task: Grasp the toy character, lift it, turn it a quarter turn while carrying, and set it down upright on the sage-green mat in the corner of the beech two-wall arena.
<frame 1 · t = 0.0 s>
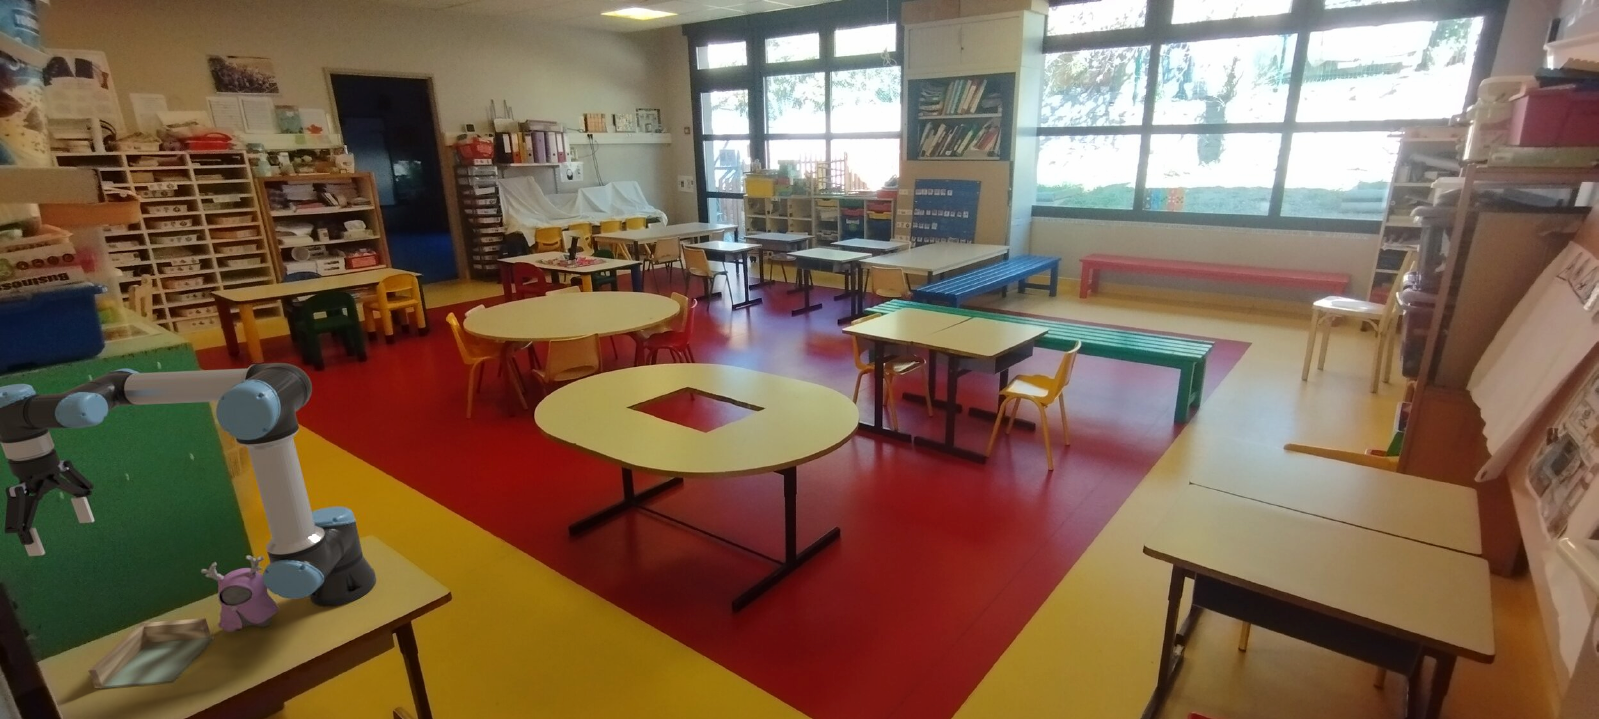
hand: (63, 537, 165), 28 cm above the table, fingers open, 13 cm apart
arena: (161, 662, 167), on the table
toy character: (252, 629, 178), on the table
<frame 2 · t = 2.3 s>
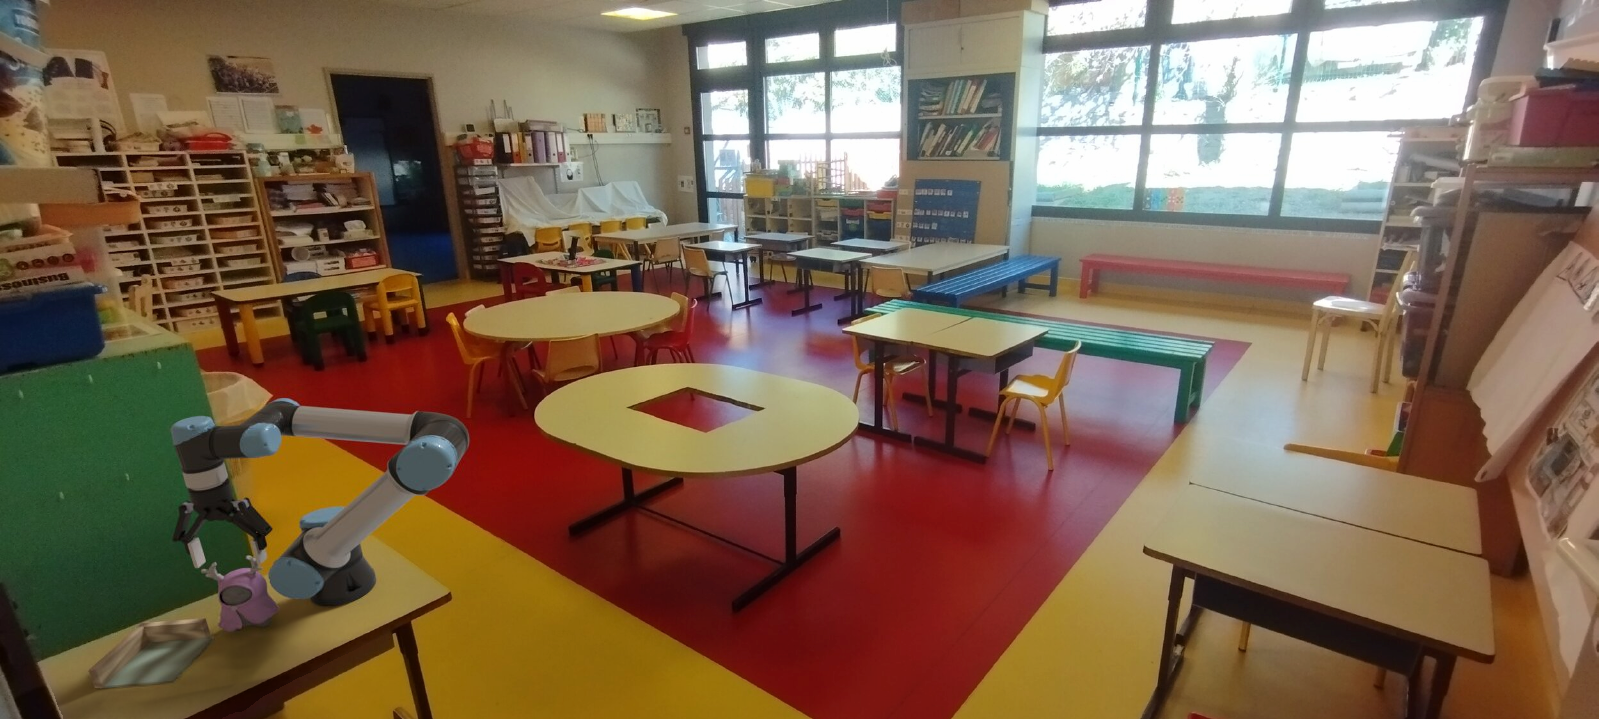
hand: (231, 563, 171), 19 cm above the table, fingers open, 13 cm apart
nothing on the table moved.
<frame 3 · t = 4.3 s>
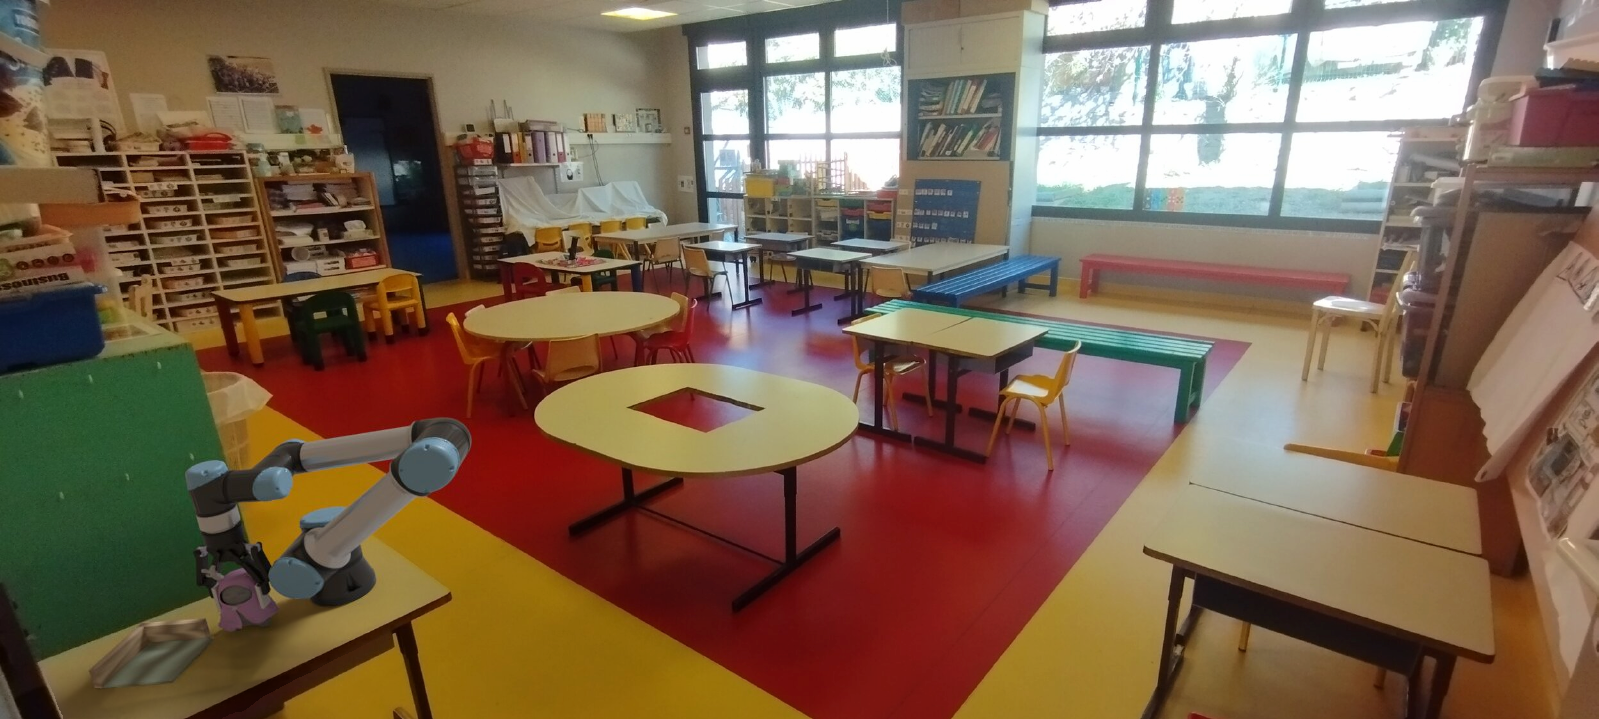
hand: (244, 606, 175), 7 cm above the table, fingers closed on toy character, 9 cm apart
toy character: (252, 629, 178), on the table, touching gripper
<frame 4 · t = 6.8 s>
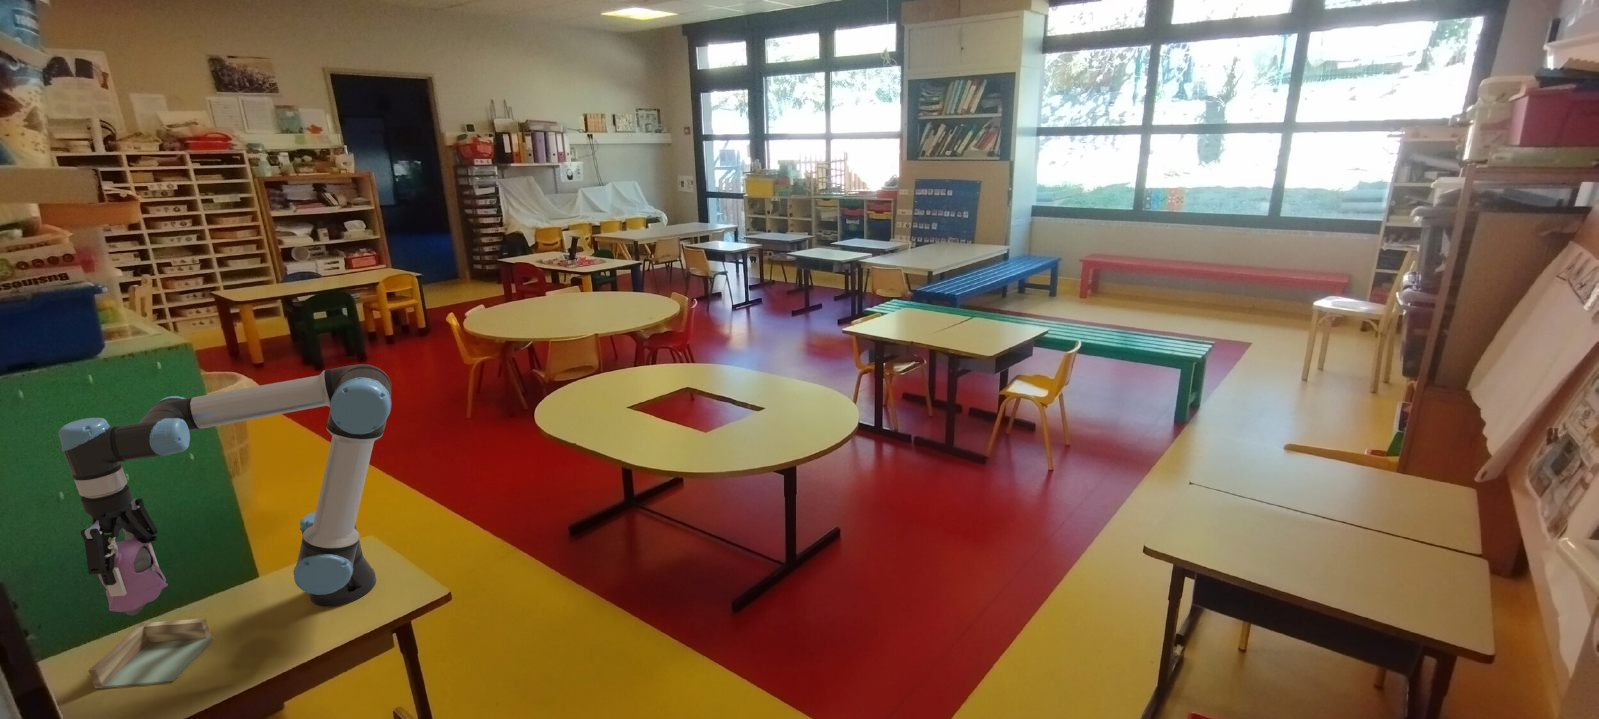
hand: (135, 581, 159), 22 cm above the table, fingers closed on toy character, 9 cm apart
toy character: (145, 606, 162), point 16 cm above the table, touching gripper
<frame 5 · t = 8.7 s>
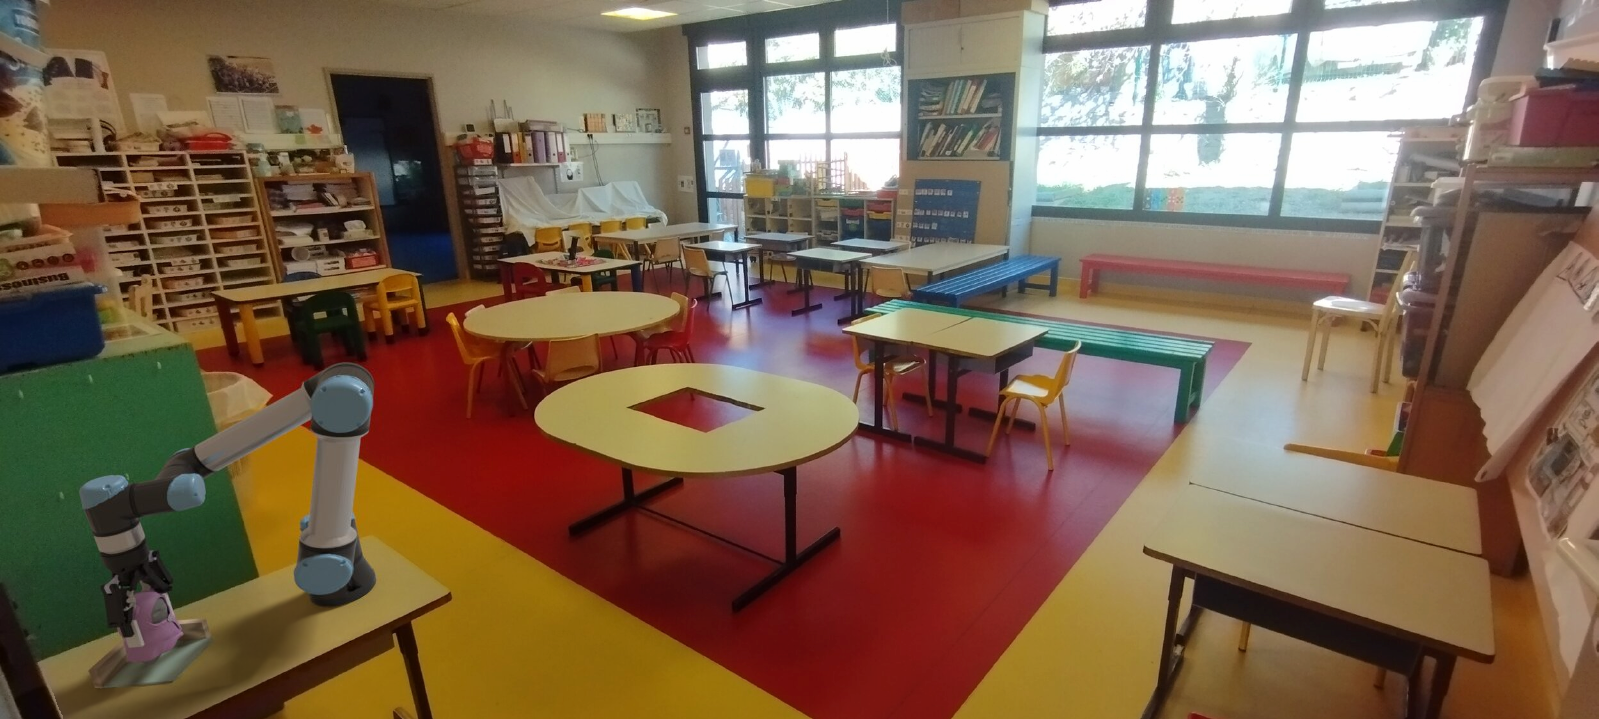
hand: (152, 631, 163), 9 cm above the table, fingers closed on toy character, 9 cm apart
toy character: (161, 654, 166), point 2 cm above the table, touching gripper
when the fingers open (8 cm above the table, at t = 9.7 s): toy character drops 1 cm, resting on arena.
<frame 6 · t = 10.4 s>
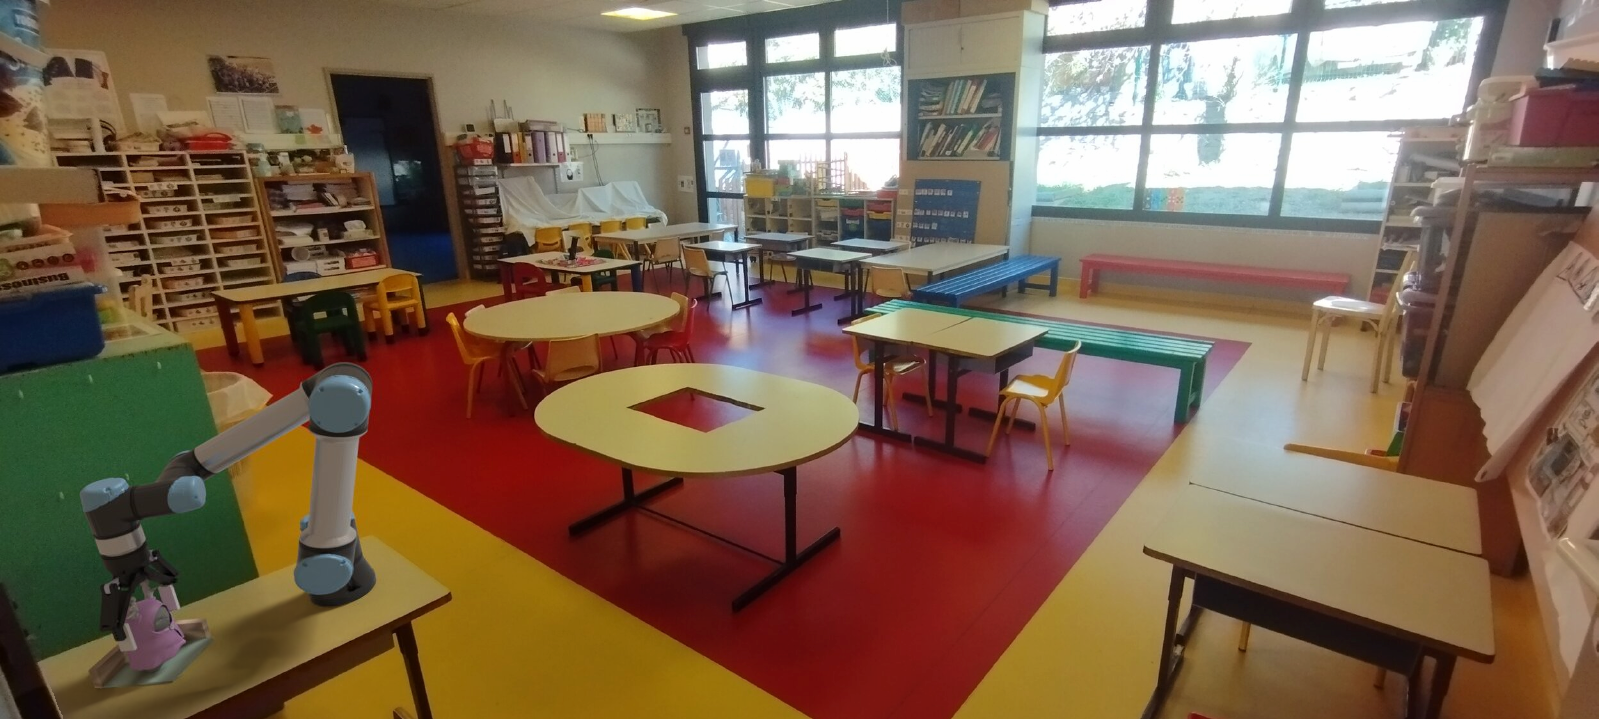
hand: (151, 628, 163), 10 cm above the table, fingers open, 13 cm apart
toy character: (164, 662, 166), resting on arena
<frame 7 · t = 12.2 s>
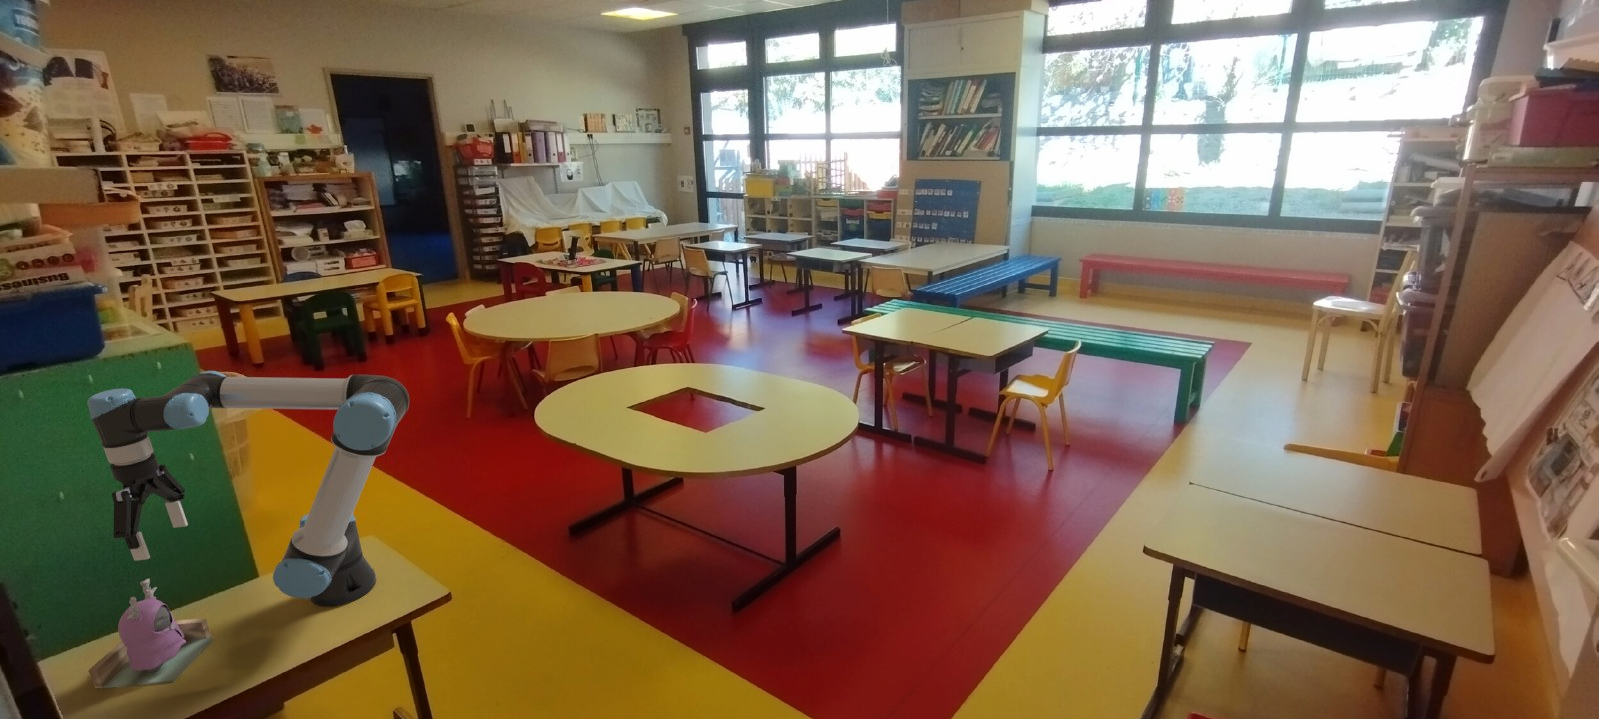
hand: (162, 542, 165), 27 cm above the table, fingers open, 13 cm apart
nothing on the table moved.
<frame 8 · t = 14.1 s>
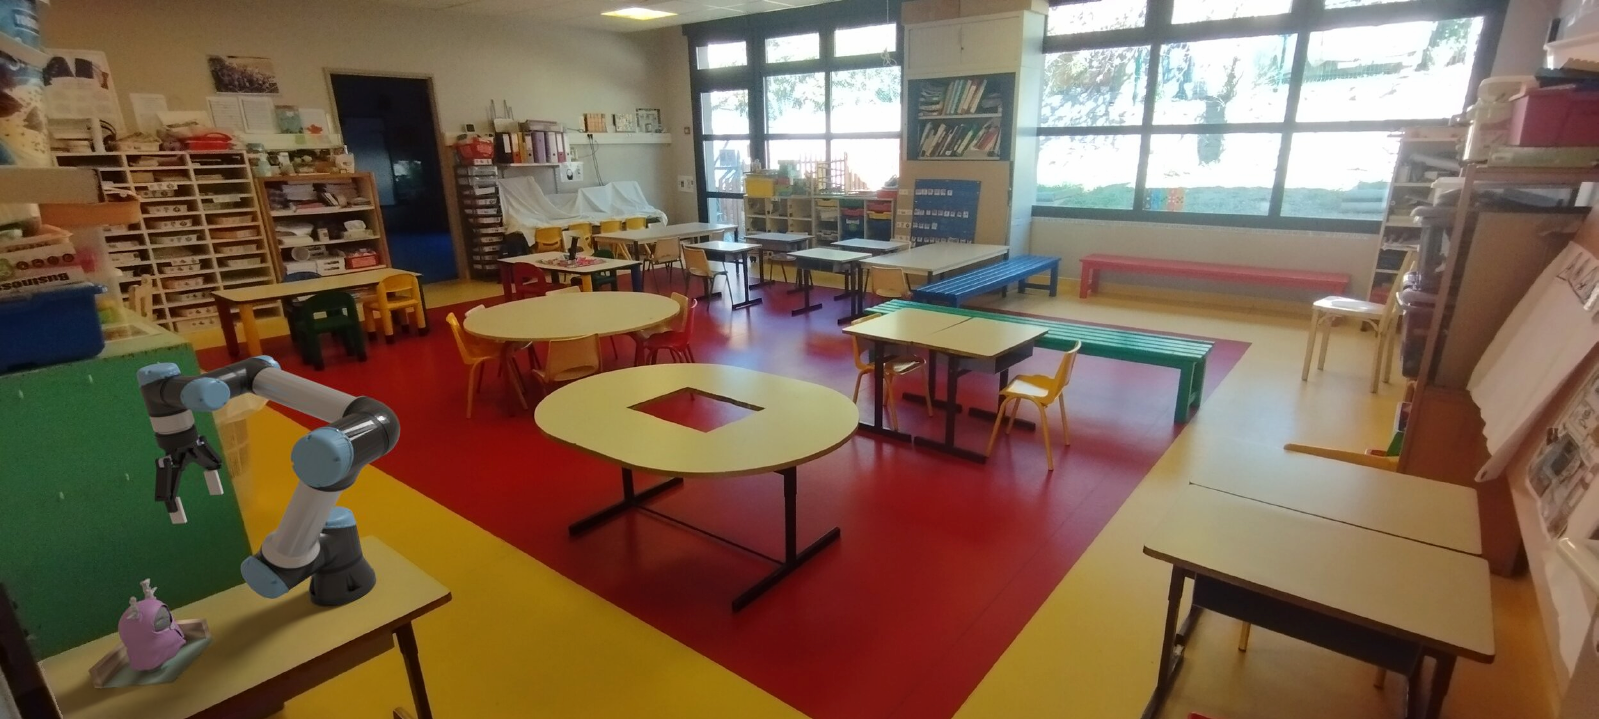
hand: (199, 507, 177), 29 cm above the table, fingers open, 13 cm apart
nothing on the table moved.
at the end: toy character 1.1 cm from the arena (horizontally); toy character tilted 0°; the gripper is holding nothing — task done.
